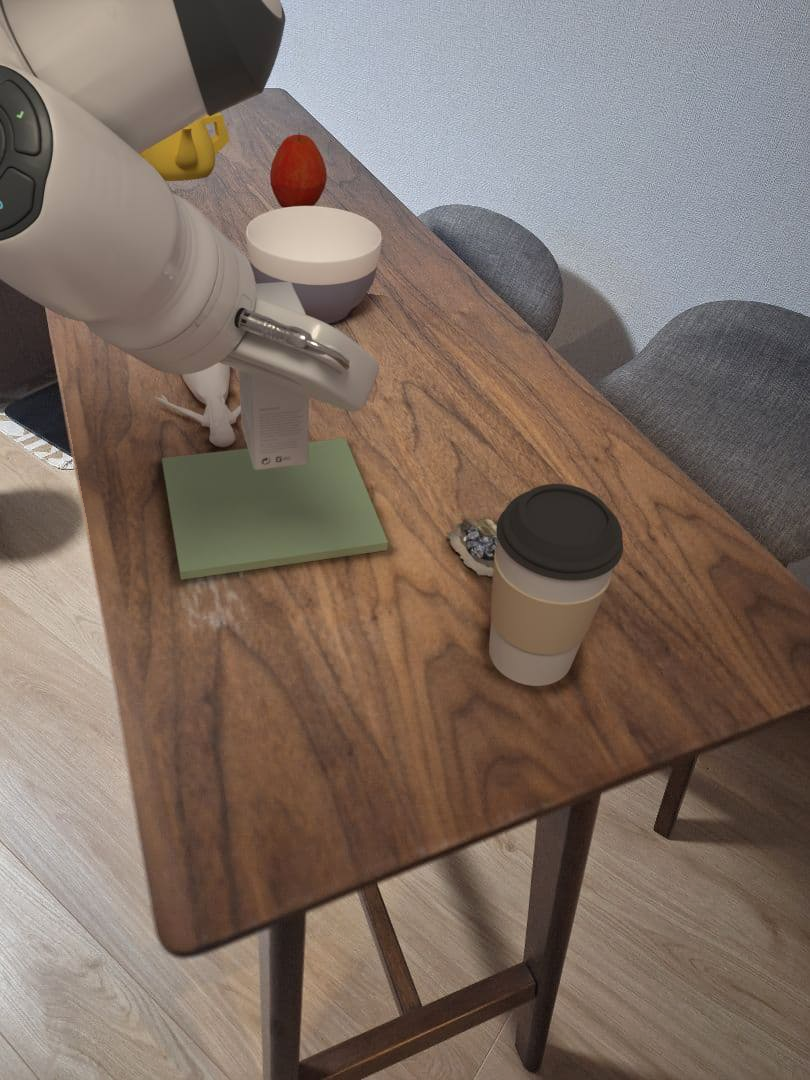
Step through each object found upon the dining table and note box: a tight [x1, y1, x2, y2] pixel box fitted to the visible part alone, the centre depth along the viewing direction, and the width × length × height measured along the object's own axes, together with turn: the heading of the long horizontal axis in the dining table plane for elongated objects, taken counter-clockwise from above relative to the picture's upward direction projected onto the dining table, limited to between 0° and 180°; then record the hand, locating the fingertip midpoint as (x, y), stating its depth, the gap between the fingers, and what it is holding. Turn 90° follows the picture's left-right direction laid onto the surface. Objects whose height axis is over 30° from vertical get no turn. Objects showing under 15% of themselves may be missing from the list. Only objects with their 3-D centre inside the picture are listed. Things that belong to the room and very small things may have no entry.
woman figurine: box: [154, 362, 241, 448], centre depth 95 cm, size 12×4×18 cm
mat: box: [161, 437, 389, 581], centre depth 84 cm, size 18×16×1 cm
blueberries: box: [445, 517, 498, 577], centre depth 81 cm, size 7×8×2 cm
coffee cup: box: [488, 483, 624, 687], centre depth 68 cm, size 9×9×15 cm
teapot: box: [139, 112, 231, 182], centre depth 140 cm, size 14×13×10 cm
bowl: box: [245, 205, 383, 325], centre depth 110 cm, size 16×16×10 cm
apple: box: [269, 132, 328, 208], centre depth 132 cm, size 8×8×11 cm
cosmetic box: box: [238, 282, 310, 470], centre depth 66 cm, size 6×4×12 cm
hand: (276, 367), depth 66 cm, fingers closed on cosmetic box, 7 cm apart
